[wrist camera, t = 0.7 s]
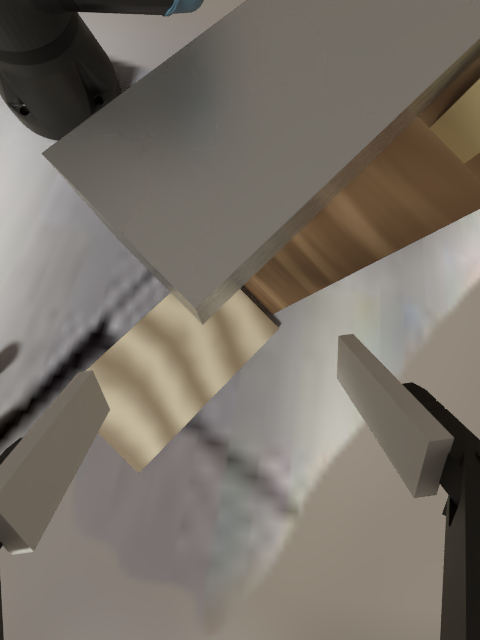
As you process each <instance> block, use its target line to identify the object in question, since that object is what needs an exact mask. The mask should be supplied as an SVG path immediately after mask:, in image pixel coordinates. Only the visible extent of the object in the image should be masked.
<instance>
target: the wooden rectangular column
mask: <svg viewBox="0 0 480 640" xmlns="http://www.w3.org/2000/svg"><path fill="white" fill-rule="evenodd" d="M478 209H480V57H479V58H478V59H477V60H476V61H475V62H474V63H473V64H472V65H471V66H470V67H469V68H468V69H467V70H466V71H464V72H463V73H462V74H461V75H460V76H459V77H458V78H457V79H456V80H455V81H454V82H453V83H452V84H451V85H450V86H449V87H448V88H447V89H446V90H445V91H444V92H443V93H442V94H441V95H440V96H439V97H438V98H437V99H436V100H435V101H434V102H432V103H431V104H430V105H429V106H428V107H427V108H426V109H425V110H424V111H423V112H422V113H421V114H420V115H419V116H418V117H417V118H416V119H415V120H414V121H413V122H412V123H411V124H410V125H409V126H408V127H407V128H406V129H405V130H404V131H403V132H401V133H400V134H399V135H398V136H397V137H396V138H395V139H394V140H393V141H392V142H391V143H390V144H389V145H388V146H387V147H386V148H385V149H384V150H383V151H382V152H381V153H380V154H379V155H378V156H377V157H376V158H375V159H374V160H373V161H372V162H371V163H369V164H368V165H367V166H366V167H365V168H364V169H363V170H362V171H361V172H360V173H359V174H358V175H357V176H356V177H355V178H354V179H353V180H352V181H351V182H350V183H349V184H348V185H347V186H346V187H345V188H344V189H343V190H342V191H341V192H340V193H338V194H337V195H336V196H335V197H334V198H333V199H332V200H331V201H330V202H329V203H328V204H327V205H326V206H325V207H324V208H323V209H322V210H321V211H320V212H319V213H318V214H317V215H316V216H315V217H314V218H313V219H312V220H311V221H310V222H309V223H308V224H306V225H305V226H304V227H303V228H302V229H301V230H300V231H299V232H298V233H297V234H296V235H295V236H294V237H293V238H292V239H291V240H290V241H289V242H288V243H287V244H286V245H285V246H284V247H283V248H282V249H281V250H280V251H279V252H278V253H277V254H276V255H274V256H273V257H272V258H271V259H270V260H269V261H268V262H267V263H266V264H265V265H264V266H263V267H262V268H261V269H260V270H259V271H258V272H257V273H256V274H255V275H254V276H253V277H252V278H251V279H250V280H249V281H248V282H247V283H246V284H245V285H244V286H245V287H246V289H247V290H248V291H249V292H250V293H251V294H252V295H253V296H254V297H255V298H256V299H257V300H258V301H259V302H260V303H261V304H262V305H263V306H264V307H265V308H266V309H267V310H268V311H269V312H270V313H271V314H274V313H276V312H278V311H280V310H282V309H283V308H285V307H287V306H289V305H291V304H293V303H295V302H297V301H299V300H301V299H303V298H305V297H307V296H309V295H311V294H313V293H315V292H317V291H319V290H321V289H323V288H325V287H327V286H329V285H331V284H333V283H335V282H337V281H339V280H341V279H343V278H344V277H346V276H348V275H350V274H352V273H354V272H356V271H358V270H360V269H362V268H364V267H366V266H368V265H370V264H372V263H374V262H376V261H378V260H380V259H382V258H384V257H386V256H388V255H390V254H392V253H394V252H396V251H398V250H400V249H402V248H403V247H405V246H407V245H409V244H411V243H413V242H415V241H417V240H419V239H421V238H423V237H425V236H427V235H429V234H431V233H433V232H435V231H437V230H439V229H441V228H443V227H445V226H447V225H449V224H451V223H453V222H455V221H457V220H459V219H461V218H463V217H464V216H466V215H468V214H470V213H472V212H474V211H476V210H478Z"/></svg>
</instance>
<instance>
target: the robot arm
mask: <svg viewBox="0 0 480 640" xmlns="http://www.w3.org/2000/svg"><path fill="white" fill-rule="evenodd" d="M203 1H204V0H0V95H1V96H2V98H3V100H4V101H5V103H6V104H7V106H8V107H9V108H10V109H11V111H12V112H13V113H14V114H15V115H16V116H17V118H18V119H19V120H20V121H21V122H22V123H23V124H24V125H25V126H26V127H27V128H29V129H30V130H31V131H33V132H35V133H36V134H38V135H41V136H43V137H46V138H49V139H53V140H58V141H59V140H60V139H62V138H63V137H64V136H66V135H67V134H68V133H70V132H71V131H72V130H74V129H75V128H76V127H78V126H79V125H80V124H82V123H83V122H84V121H86V120H87V119H88V118H90V117H91V116H92V115H94V114H95V113H96V112H98V111H99V110H100V109H102V108H103V107H104V106H106V105H107V104H108V103H110V102H111V101H112V100H114V99H115V98H116V97H118V96H119V95H120V94H121V93H120V86H119V82H118V79H117V77H116V74H115V71H114V68H113V66H112V63H111V61H110V59H109V58H108V56H107V54H106V53H105V51H104V50H103V49H102V47H101V46H100V45H99V43H98V42H97V40H96V39H95V37H94V36H93V34H92V33H91V31H90V30H89V29H88V27H87V26H86V24H85V23H84V21H83V20H82V19H81V17H80V16H79V14H78V13H77V12H96V13H122V14H124V13H125V14H146V15H162V16H170V15H172V14H175V13H188V12H193V11H195V10H197V9H198V8H199V7H200V6H201V4H202V3H203ZM337 379H338V380H339V382H340V383H341V385H342V387H343V388H344V390H345V391H346V393H347V394H348V396H349V397H350V399H351V401H352V402H353V404H354V405H355V407H356V408H357V410H358V411H359V413H360V415H361V416H362V418H363V419H364V421H365V422H366V424H367V425H368V427H369V429H370V430H371V432H372V433H373V435H374V436H375V438H376V439H377V441H378V442H379V444H380V445H381V447H382V449H383V450H384V452H385V453H386V455H387V456H388V458H389V460H390V461H391V462H392V464H393V466H394V467H395V469H396V470H397V472H398V474H399V475H400V477H401V478H402V480H403V481H404V483H405V484H406V486H407V488H408V489H409V491H410V492H411V494H412V495H413V497H414V498H417V497H425V496H431V495H436V494H437V491H438V488H439V485H440V484H441V486H442V487H443V488H444V489H445V491H446V492H447V493H448V495H449V496H448V499H447V502H446V505H445V508H444V510H443V513H442V514H443V515H445V516H446V530H445V551H444V552H445V553H444V572H443V594H442V614H441V636H440V640H480V440H479V439H478V438H477V437H476V436H475V435H474V434H473V433H472V432H470V431H469V430H468V429H467V428H466V427H465V426H464V425H463V424H462V423H461V422H460V421H459V420H458V419H457V418H455V417H454V416H453V415H452V414H451V413H450V412H449V411H448V410H447V409H445V408H444V406H443V405H441V404H440V403H439V402H438V401H436V399H435V398H434V397H433V396H432V395H431V394H430V393H429V392H428V391H427V390H425V389H423V388H422V387H420V386H418V385H416V384H414V383H405V384H401V383H400V382H399V381H398V380H397V379H396V378H395V377H394V376H393V375H392V373H391V372H390V371H389V370H388V369H387V368H386V367H385V366H384V365H383V364H382V363H381V362H380V361H379V360H378V359H377V358H376V357H375V356H374V355H373V354H372V353H371V352H370V351H369V350H368V349H367V348H366V347H365V346H364V345H363V344H362V343H361V342H360V341H359V340H358V339H357V338H356V337H355V336H354V335H353V334H349V335H342V336H339V339H338V364H337ZM109 411H110V408H109V406H108V403H107V401H106V399H105V397H104V394H103V392H102V390H101V388H100V385H99V383H98V381H97V379H96V376H95V374H94V372H93V370H91V371H84V372H78V373H77V374H76V376H75V377H74V378H73V379H72V380H71V382H70V383H69V384H68V385H67V386H66V388H65V389H64V390H63V391H62V392H61V393H60V395H59V396H58V397H57V398H56V399H55V401H54V402H53V403H52V404H51V405H50V407H49V408H48V409H47V410H46V411H45V412H44V414H43V415H42V416H41V417H40V418H39V420H38V421H37V422H36V423H35V424H34V426H33V427H32V428H31V429H30V430H29V431H28V433H27V434H26V435H25V436H24V437H23V438H20V439H18V440H17V441H16V442H15V443H13V444H12V445H11V446H10V447H8V448H7V449H6V450H5V451H4V452H3V453H2V454H1V456H0V548H1V547H2V545H3V546H4V547H5V548H6V549H7V551H8V552H9V553H10V554H11V555H13V554H19V553H27V552H33V551H34V550H35V548H36V546H37V544H38V542H39V541H40V539H41V537H42V535H43V533H44V531H45V530H46V528H47V526H48V524H49V522H50V520H51V518H52V517H53V515H54V513H55V511H56V509H57V507H58V505H59V504H60V502H61V500H62V498H63V496H64V494H65V492H66V491H67V489H68V487H69V485H70V483H71V481H72V480H73V478H74V476H75V474H76V472H77V470H78V468H79V467H80V465H81V463H82V461H83V459H84V457H85V455H86V454H87V452H88V450H89V448H90V446H91V444H92V442H93V441H94V439H95V437H96V435H97V433H98V431H99V429H100V428H101V426H102V424H103V422H104V420H105V418H106V416H107V415H108V413H109ZM0 640H4V639H3V619H2V600H1V582H0Z"/></svg>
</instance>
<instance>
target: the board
mask: <svg viewBox="0 0 480 640" xmlns="http://www.w3.org/2000/svg"><path fill="white" fill-rule="evenodd" d="M278 329H279V328H278V327H277V326H276V325H275V324H274V323H273V322H272V321H271V320H270V319H269V318H268V317H267V316H266V315H265V314H264V313H263V312H262V311H261V310H260V309H259V308H258V307H257V306H256V305H255V304H254V303H253V302H252V301H251V300H250V298H249V297H248V296H247V295H246V294H245V293H244V292H243V291H242V290H241V289H239V290H238V291H237V292H236V293H235V294H234V295H233V296H232V297H231V298H230V299H229V300H228V301H227V302H226V303H225V304H224V305H223V306H222V307H221V308H220V309H219V310H218V311H217V312H216V313H215V314H214V315H213V316H211V317H210V318H209V319H208V320H207V321H206V322H205V323H204V324H203V325H202V324H201V323H200V322H199V321H198V320H197V319H196V318H195V316H194V315H193V314H192V313H191V312H190V311H189V310H188V309H187V308H186V307H185V306H184V305H183V304H182V303H181V302H180V301H179V300H178V299H177V298H176V297H175V296H174V295H173V294H172V293H170V294H169V295H168V296H166V297H165V298H164V299H163V300H162V301H161V302H160V303H159V304H158V305H157V306H156V307H155V308H153V309H152V310H151V311H150V312H149V313H148V314H147V315H146V316H145V317H144V318H143V319H141V320H140V321H139V322H138V323H137V324H136V325H135V326H134V327H133V328H132V329H131V330H130V331H128V332H127V333H126V334H125V335H124V336H123V337H122V338H121V339H120V340H119V341H118V342H117V343H115V344H114V345H113V346H112V347H111V348H110V349H109V350H108V351H107V352H106V353H105V354H104V355H102V356H101V357H100V358H99V359H98V360H97V361H96V362H95V363H94V364H93V365H92V366H90V367H89V368H88V369H87V370H86V371H91V370H93V372H94V374H95V376H96V379H97V381H98V383H99V385H100V388H101V390H102V392H103V394H104V397H105V399H106V401H107V403H108V406H109V408H110V411H109V413H108V415H107V416H106V418H105V420H104V422H103V424H102V426H101V428H100V429H99V431H98V433H99V434H100V435H101V436H102V437H103V438H104V439H105V440H106V441H107V442H108V443H109V444H110V445H111V446H112V447H113V448H114V449H115V450H116V451H117V452H118V453H119V454H120V455H121V456H122V457H123V458H124V459H125V460H126V461H127V462H128V463H129V464H130V465H131V466H132V467H133V468H134V469H135V470H136V471H137V472H138V473H139V472H140V471H141V470H142V469H143V468H144V467H145V466H146V465H147V464H148V463H149V462H150V461H151V460H152V459H153V458H154V457H155V456H156V455H157V454H158V453H159V452H160V451H161V450H162V449H163V448H164V447H165V446H166V445H167V444H168V443H169V442H170V440H171V439H172V438H173V437H174V436H175V435H176V434H177V433H178V432H179V431H180V430H181V429H182V428H183V427H184V426H185V425H186V424H187V423H188V422H189V421H190V420H191V419H192V418H193V417H194V416H195V415H196V414H197V413H198V412H199V411H200V410H201V409H202V407H203V406H204V405H205V404H206V403H207V402H208V401H209V400H210V399H211V398H212V397H213V396H214V395H215V394H216V393H217V392H218V391H219V390H220V389H221V388H222V387H223V386H224V385H225V384H226V383H227V382H228V381H229V380H230V379H231V378H232V377H233V376H234V374H235V373H236V372H237V371H238V370H239V369H240V368H241V367H242V366H243V365H244V364H245V363H246V362H247V361H248V360H249V359H250V358H251V357H252V356H253V355H254V354H255V353H256V352H257V351H258V350H259V349H260V348H261V347H262V346H263V345H264V344H265V343H266V342H267V340H268V339H269V338H270V337H271V336H272V335H273V334H274V333H275V332H276V331H277V330H278Z"/></svg>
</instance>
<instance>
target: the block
mask: <svg viewBox="0 0 480 640" xmlns="http://www.w3.org/2000/svg"><path fill="white" fill-rule="evenodd" d="M479 57H480V0H246V1H245V2H244V3H243V4H241V5H240V6H238V7H237V8H236V9H234V10H233V11H232V12H230V13H229V14H228V15H226V16H225V17H224V18H223V19H221V20H220V21H218V22H217V23H216V24H214V25H213V26H212V27H210V28H209V29H208V30H206V31H205V32H204V33H202V34H201V35H199V36H198V37H197V38H196V39H194V40H193V41H191V42H190V43H189V44H187V45H186V46H185V47H184V48H182V49H181V50H179V51H178V52H177V53H175V54H174V55H173V56H171V57H170V58H169V59H167V60H166V61H165V62H163V63H162V64H161V65H159V66H158V67H157V68H155V69H154V70H153V71H151V72H150V73H149V74H147V75H146V76H145V77H143V78H142V79H141V80H139V81H138V82H137V83H135V84H134V85H133V86H131V87H130V88H128V89H127V90H126V91H124V92H123V93H122V94H120V95H119V96H118V97H116V98H115V99H114V100H112V101H111V102H110V103H108V104H107V105H106V106H104V107H103V108H102V109H100V110H99V111H98V112H96V113H95V114H94V115H92V116H91V117H90V118H88V119H87V120H86V121H84V122H83V123H82V124H80V125H79V126H78V127H76V128H75V129H74V130H72V131H71V132H70V133H68V134H67V135H66V136H64V137H63V138H62V139H60V140H59V141H57V142H56V143H55V144H53V145H52V146H51V147H49V148H48V149H47V150H45V151H44V152H43V153H42V154H43V156H44V157H45V158H46V159H47V160H48V161H49V162H50V163H51V165H52V166H53V167H54V168H55V169H56V170H57V171H58V172H59V174H60V175H61V176H62V177H63V178H64V179H65V180H66V181H67V183H68V184H69V185H70V186H71V187H72V188H73V189H74V190H75V192H76V193H77V194H78V195H79V196H80V197H81V198H82V199H83V201H84V202H85V203H86V204H87V205H88V206H89V207H90V208H91V209H92V211H93V212H94V213H95V214H96V215H97V216H98V217H99V218H100V220H101V221H102V222H103V223H104V224H105V225H106V226H107V227H108V229H109V230H110V231H111V232H112V233H113V234H114V235H115V236H116V238H117V239H118V240H119V241H120V242H121V243H122V244H123V245H124V246H125V247H126V248H127V249H128V250H129V251H130V252H131V253H132V254H133V255H134V256H135V257H136V258H137V259H138V260H139V261H140V262H141V263H142V264H143V265H144V266H145V267H146V268H147V269H148V270H149V271H150V272H151V273H152V274H153V275H154V276H155V277H156V278H157V279H158V280H159V281H160V282H161V283H162V284H163V285H164V286H165V287H166V288H167V289H168V290H169V291H170V292H171V293H172V294H173V295H174V296H175V297H176V298H177V299H178V300H179V301H180V302H181V303H182V304H183V305H184V306H185V307H186V308H187V309H188V310H189V311H190V312H191V313H192V314H193V315H194V316H195V318H196V319H197V320H198V321H199V322H200V323H201V324H202V325H203V324H204V323H205V322H206V321H207V320H208V319H209V318H210V317H211V316H213V315H214V314H215V313H216V312H217V311H218V310H219V309H220V308H221V307H222V306H223V305H224V304H225V303H226V302H227V301H228V300H229V299H230V298H231V297H232V296H233V295H234V294H235V293H236V292H237V291H238V290H239V289H240V288H241V287H242V286H243V285H245V284H246V283H247V282H248V281H249V280H250V279H251V278H252V277H253V276H254V275H255V274H256V273H257V272H258V271H259V270H260V269H261V268H262V267H263V266H264V265H265V264H266V263H267V262H268V261H269V260H270V259H271V258H272V257H273V256H274V255H276V254H277V253H278V252H279V251H280V250H281V249H282V248H283V247H284V246H285V245H286V244H287V243H288V242H289V241H290V240H291V239H292V238H293V237H294V236H295V235H296V234H297V233H298V232H299V231H300V230H301V229H302V228H303V227H304V226H305V225H306V224H308V223H309V222H310V221H311V220H312V219H313V218H314V217H315V216H316V215H317V214H318V213H319V212H320V211H321V210H322V209H323V208H324V207H325V206H326V205H327V204H328V203H329V202H330V201H331V200H332V199H333V198H334V197H335V196H336V195H337V194H338V193H340V192H341V191H342V190H343V189H344V188H345V187H346V186H347V185H348V184H349V183H350V182H351V181H352V180H353V179H354V178H355V177H356V176H357V175H358V174H359V173H360V172H361V171H362V170H363V169H364V168H365V167H366V166H367V165H368V164H369V163H371V162H372V161H373V160H374V159H375V158H376V157H377V156H378V155H379V154H380V153H381V152H382V151H383V150H384V149H385V148H386V147H387V146H388V145H389V144H390V143H391V142H392V141H393V140H394V139H395V138H396V137H397V136H398V135H399V134H400V133H401V132H403V131H404V130H405V129H406V128H407V127H408V126H409V125H410V124H411V123H412V122H413V121H414V120H415V119H416V118H417V117H418V116H419V115H420V114H421V113H422V112H423V111H424V110H425V109H426V108H427V107H428V106H429V105H430V104H431V103H432V102H434V101H435V100H436V99H437V98H438V97H439V96H440V95H441V94H442V93H443V92H444V91H445V90H446V89H447V88H448V87H449V86H450V85H451V84H452V83H453V82H454V81H455V80H456V79H457V78H458V77H459V76H460V75H461V74H462V73H463V72H464V71H466V70H467V69H468V68H469V67H470V66H471V65H472V64H473V63H474V62H475V61H476V60H477V59H478V58H479Z"/></svg>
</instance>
